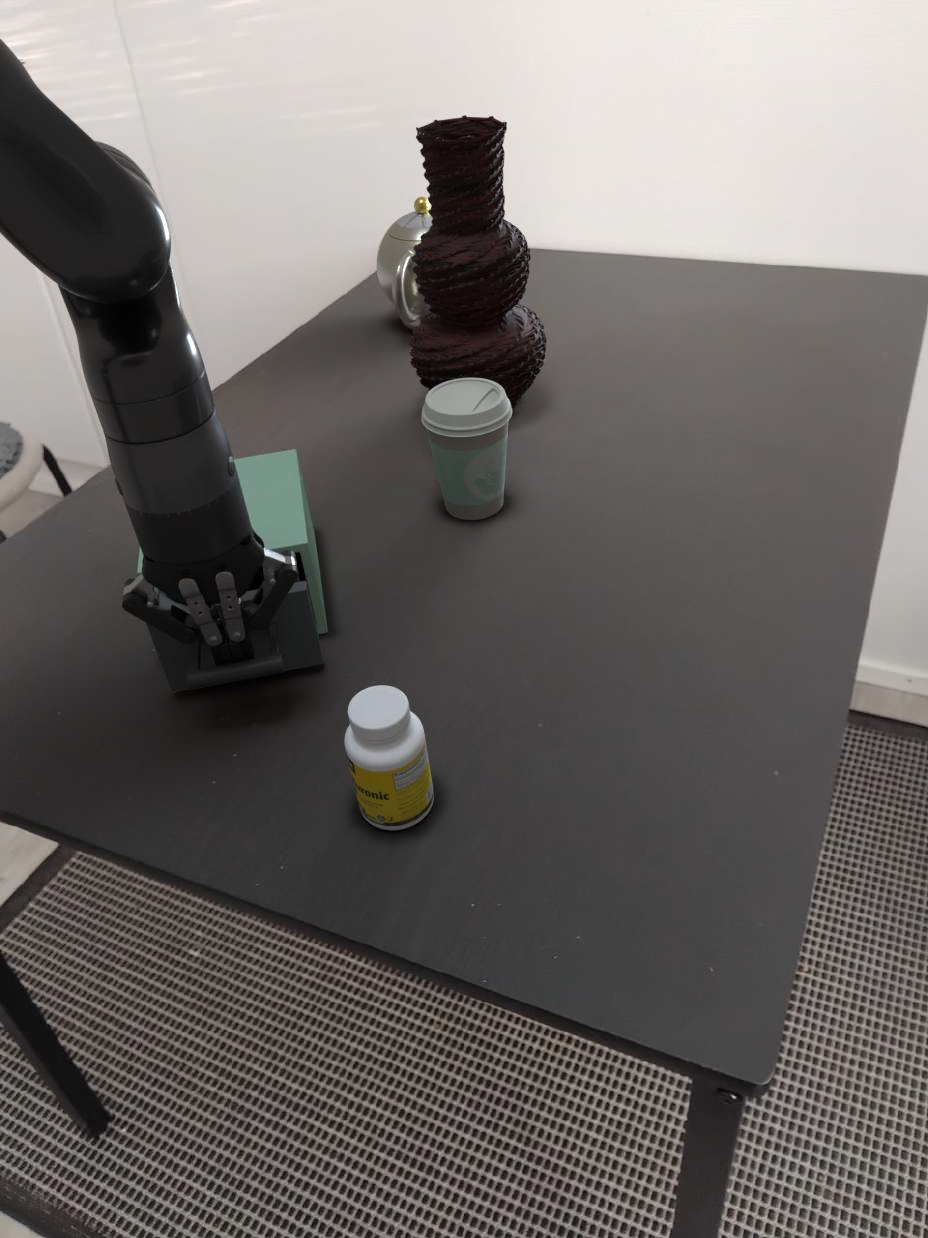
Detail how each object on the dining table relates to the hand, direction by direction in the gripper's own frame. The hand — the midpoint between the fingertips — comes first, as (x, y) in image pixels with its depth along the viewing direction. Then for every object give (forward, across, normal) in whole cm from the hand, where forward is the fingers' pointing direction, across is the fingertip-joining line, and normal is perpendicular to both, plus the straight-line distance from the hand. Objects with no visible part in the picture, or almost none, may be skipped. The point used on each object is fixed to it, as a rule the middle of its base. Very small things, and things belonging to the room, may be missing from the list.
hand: (238, 670), depth 75 cm
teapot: (+5, -26, -68) cm, 73 cm away
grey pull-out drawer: (+3, 0, -7) cm, 8 cm away
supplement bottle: (+4, -10, +12) cm, 17 cm away
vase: (+5, -28, -43) cm, 52 cm away
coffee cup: (+4, -23, -23) cm, 33 cm away
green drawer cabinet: (+4, 0, -16) cm, 16 cm away
